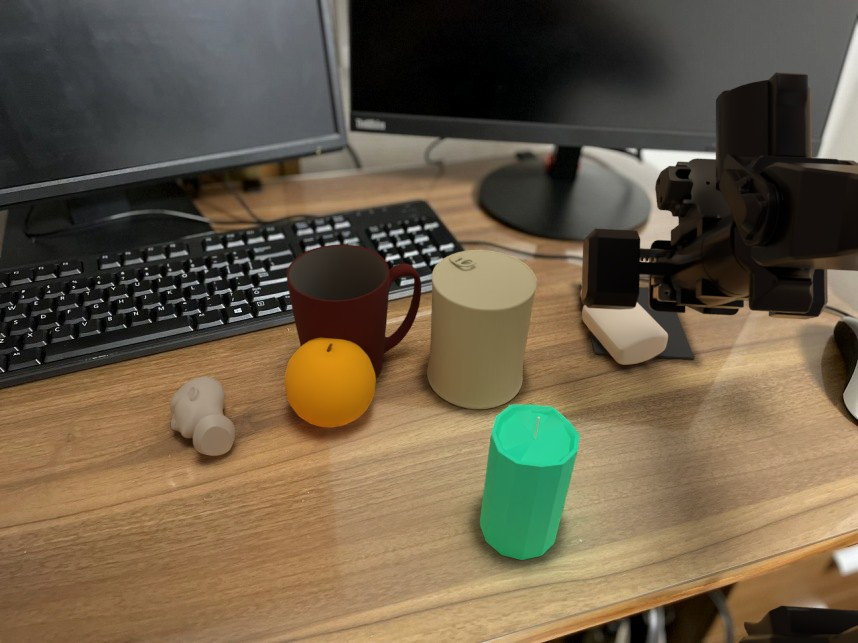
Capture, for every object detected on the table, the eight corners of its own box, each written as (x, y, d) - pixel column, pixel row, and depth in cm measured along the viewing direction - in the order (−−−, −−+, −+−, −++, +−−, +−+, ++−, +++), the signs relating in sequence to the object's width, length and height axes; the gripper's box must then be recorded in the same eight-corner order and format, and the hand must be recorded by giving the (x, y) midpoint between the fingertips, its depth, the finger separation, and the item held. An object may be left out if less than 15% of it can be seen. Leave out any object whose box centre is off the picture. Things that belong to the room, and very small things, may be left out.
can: (474, 333, 70) (483, 233, 62) (542, 378, 65) (560, 276, 57) (407, 372, 65) (408, 269, 57) (475, 425, 60) (486, 319, 52)
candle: (562, 561, 49) (591, 453, 42) (481, 558, 49) (496, 451, 42) (551, 494, 54) (576, 387, 47) (477, 492, 54) (490, 384, 47)
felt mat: (693, 359, 68) (694, 357, 67) (594, 354, 68) (595, 352, 68) (666, 290, 77) (667, 288, 77) (579, 286, 77) (579, 284, 77)
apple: (271, 406, 61) (260, 343, 56) (340, 367, 65) (335, 305, 61) (324, 456, 56) (317, 392, 52) (394, 411, 61) (394, 348, 56)
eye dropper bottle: (628, 378, 67) (570, 309, 76) (674, 344, 66) (611, 278, 75) (613, 356, 64) (555, 287, 73) (662, 321, 64) (597, 255, 72)
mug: (405, 324, 70) (406, 233, 64) (432, 380, 64) (436, 285, 57) (291, 345, 67) (279, 252, 60) (307, 406, 61) (296, 309, 54)
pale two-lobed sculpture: (179, 415, 61) (230, 388, 62) (191, 479, 55) (247, 449, 56) (153, 385, 58) (208, 358, 59) (163, 450, 52) (223, 419, 53)
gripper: (875, 149, 47) (767, 211, 63) (610, 136, 48) (568, 201, 63) (879, 305, 46) (767, 329, 61) (606, 291, 46) (564, 318, 62)
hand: (666, 290), depth 62 cm, fingers closed
